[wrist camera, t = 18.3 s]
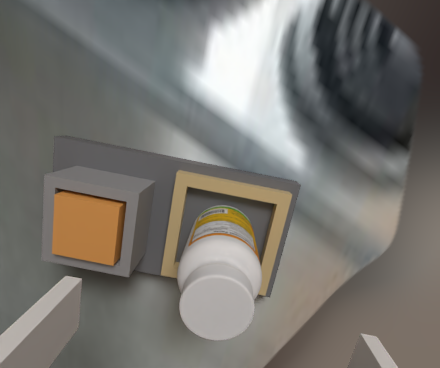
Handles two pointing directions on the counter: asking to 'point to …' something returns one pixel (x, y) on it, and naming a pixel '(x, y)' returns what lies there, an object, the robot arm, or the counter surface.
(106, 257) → the switch button
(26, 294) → the counter surface
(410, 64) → the counter surface
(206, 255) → the supplement bottle
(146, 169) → the base
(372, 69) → the counter surface
